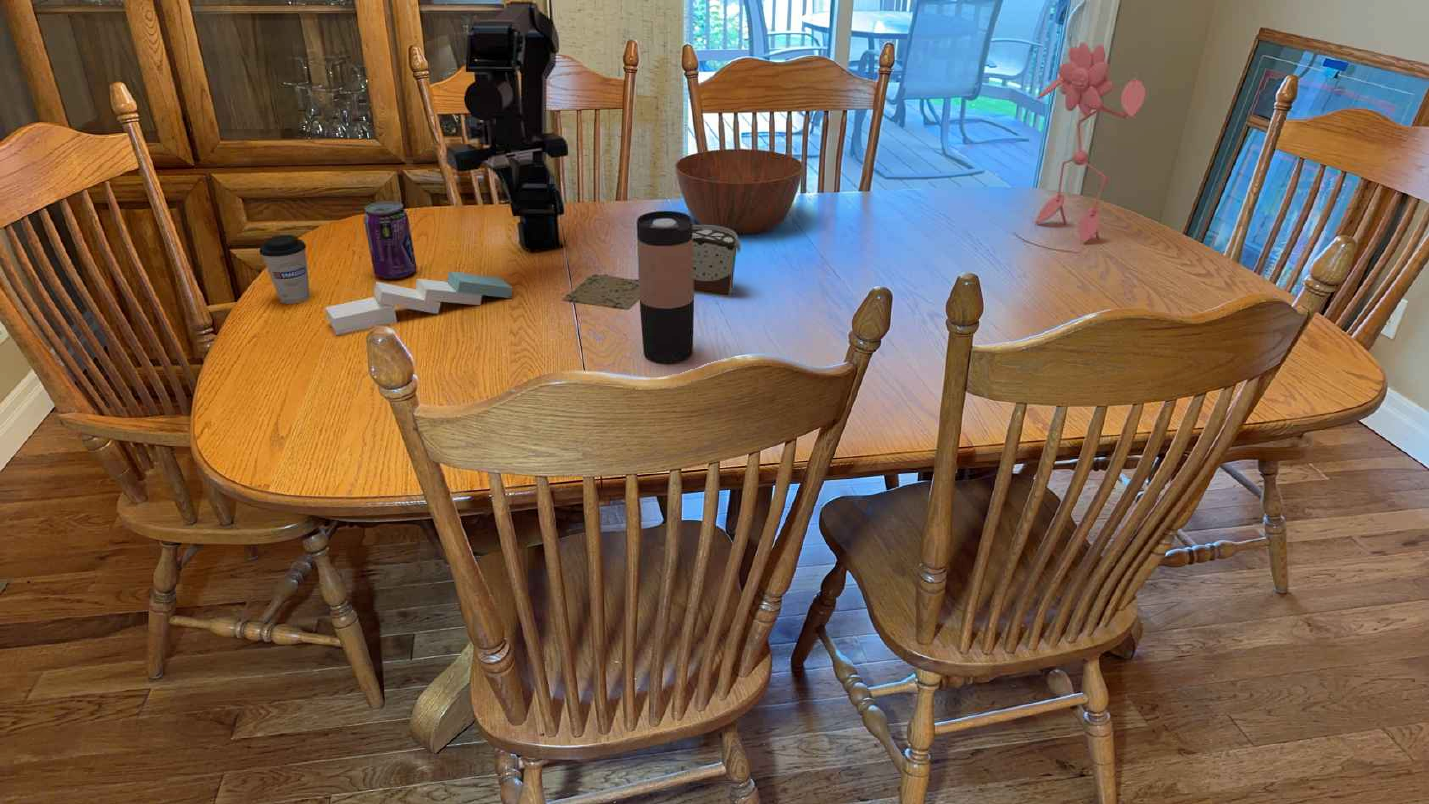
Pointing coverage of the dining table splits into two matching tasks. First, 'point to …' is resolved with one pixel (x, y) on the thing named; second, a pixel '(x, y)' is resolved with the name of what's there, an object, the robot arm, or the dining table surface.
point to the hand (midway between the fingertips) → (513, 203)
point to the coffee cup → (287, 267)
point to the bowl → (739, 187)
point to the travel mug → (666, 285)
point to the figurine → (1085, 88)
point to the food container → (714, 259)
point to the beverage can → (389, 240)
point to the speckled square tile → (606, 292)
